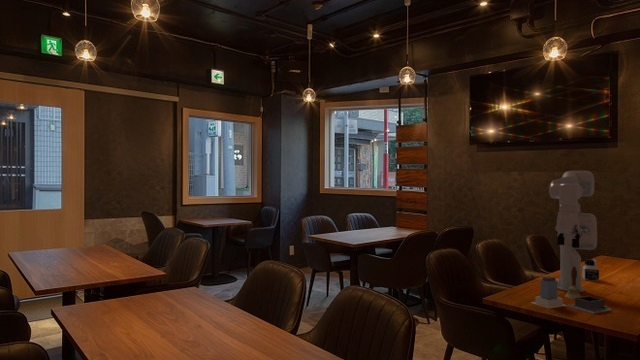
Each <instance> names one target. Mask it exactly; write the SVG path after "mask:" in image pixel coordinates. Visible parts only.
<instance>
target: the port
mask: <svg viewBox="0 0 640 360" xmlns="http://www.w3.org/2000/svg"><path fill="white" fill-rule="evenodd" d="M567 307H569V308H574V309H576V310H579V311H583V312H586V313H590V314H599V313H605V312H610V311H611V312H612V308H610V307H609V306H605V300H604V299H602V298H598V297H594V296H591V295H585V296H581V297H578V298H575V299H574V303H568V304H567Z"/></svg>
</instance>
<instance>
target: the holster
mask: <svg viewBox="0 0 640 360" xmlns="http://www.w3.org/2000/svg"><path fill="white" fill-rule="evenodd" d="M534 299H535V301H531V302H530V303H531V304H533V305H536V306H539V307H543V308H545V309H553V308H555V309H556V308H562V307H568V304H567V305H566V304H564V303H563V300H564V299H563V297H562V298H561V297H559V296H557V299H551V300H547V299H543V298H541V295H538V296H535V297H534Z"/></svg>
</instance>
